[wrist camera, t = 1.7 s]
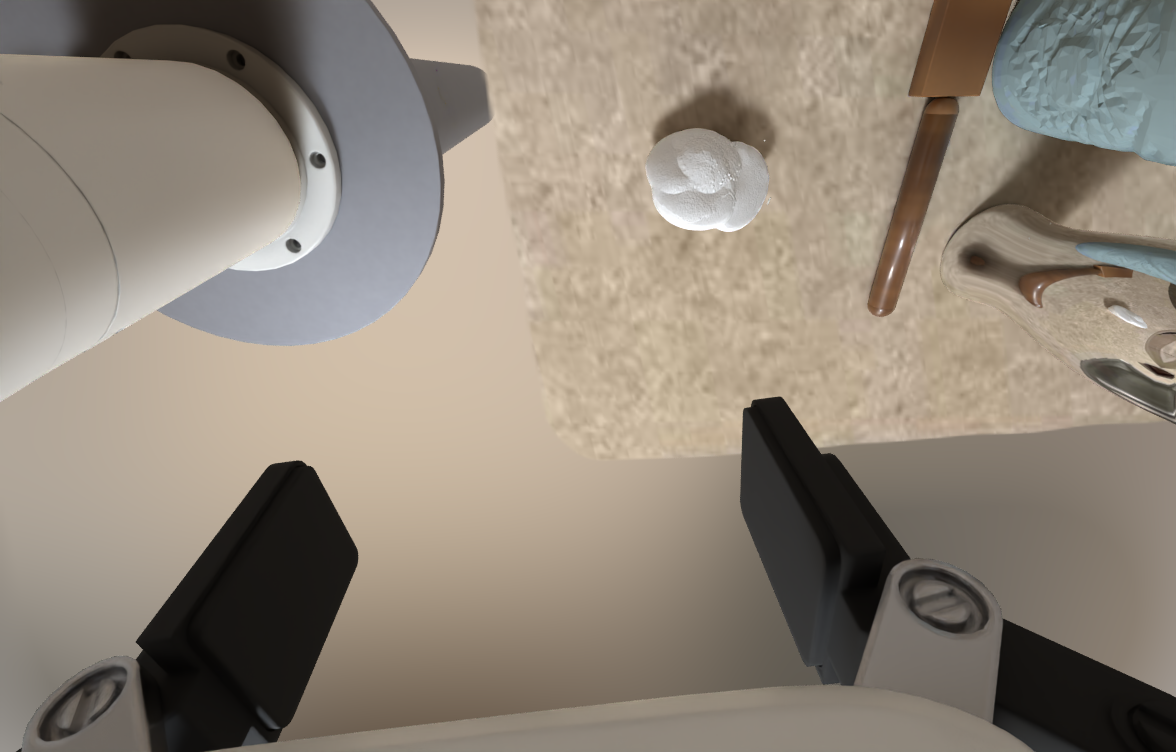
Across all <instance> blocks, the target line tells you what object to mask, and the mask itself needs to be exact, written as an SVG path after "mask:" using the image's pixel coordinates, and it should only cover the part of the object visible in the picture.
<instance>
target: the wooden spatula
mask: <svg viewBox="0 0 1176 752" xmlns="http://www.w3.org/2000/svg"><path fill="white" fill-rule="evenodd" d="M1011 2H1012V0H934V4H933V7H932V11H931V14H930V18H929V22H928V25H927V29H926V33H925V36H924V40H923V44H922V47H921V51H920V54H919V58H918V62H917V65H916V69H915V73H914V76H913V80H912V84H911V87H910V91H909V96H915V97H939V98H937V99H935V100H933V101H932V102H930V103H929V104H928V105H927V107H926V108H925V110H924V113H923V116H922V119H921V123H920V126H919V130H918V133H917V137H916V140H915V143H914V147H913V150H912V154H911V157H910V160H909V164H908V167H907V171H906V174H905V178H904V181H903V184H902V188H901V191H900V195H899V198H898V201H897V205H896V208H895V212H894V215H893V219H892V222H891V225H890V229H889V232H888V236H887V239H886V242H885V246H884V249H883V253H882V256H881V260H880V263H879V266H878V270H877V273H876V277H875V280H874V283H873V287H872V290H871V294H870V297H869V301H868V309H869V311H870V312H871V313H872V314H873V315H875V316H878V317H883V316H887V315H889V314H891V313H892V312H893V311H894V309H895V307H896V304H897V301H898V298H899V295H900V292H901V289H902V286H903V282H904V279H905V276H906V273H907V270H908V267H909V264H910V261H911V258H912V255H913V252H914V248H915V245H916V242H917V239H918V236H919V233H920V230H921V227H922V224H923V221H924V218H925V215H926V211H927V208H928V205H929V202H930V199H931V196H932V193H933V190H934V187H935V184H936V181H937V178H938V174H939V171H940V168H941V165H942V162H943V159H944V156H945V153H946V150H947V147H948V144H949V141H950V137H951V134H952V131H953V128H954V125H955V122H956V119H957V116H958V112H959V105H958V103H957V101H956V100H955V99H953V98H952V97H953V96H980V94H981V91H982V88H983V85H984V82H985V79H986V76H987V73H988V70H989V67H990V64H991V61H992V58H993V55H994V53H995V50H996V47H997V44H998V41H999V38H1000V35H1001V32H1002V29H1003V26H1004V23H1005V20H1006V17H1007V14H1008V11H1009V8H1010V5H1011Z"/></svg>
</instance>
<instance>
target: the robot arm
mask: <svg viewBox="0 0 1176 752" xmlns="http://www.w3.org/2000/svg"><path fill="white" fill-rule="evenodd" d="M242 55H243V57H244V59H245V65H243V64H242V62H241V56H242ZM320 154H322V155H323V156H324V158H325V160H326V163H325V162H322V161H321V159H320ZM340 199H341V172H340V167H339V161H338V156H337V152H336V149H335V146H334V144H333V141H332V138H331V136H330V133H329V130H328V128H327V126H326V125H325V123H324V121H323V119H322V118H321V116H320V114H319V112H318V111H317V109H316V107H315V106H314V104H313V103H312V102H311V100H310V99H309V98H308V97H307V95H306V94H305V93H304V91H303V90H302V89H301V88H300V86H299V85H298V84H297V83H296V82H295V81H294V80H293V79H292V78H291V77H290V76H289V75H288V74H287V73H286V72H285V71H284V70H283V69H282V68H281V67H279V66H278V65H277V64H276V63H275V62H273V61H272V60H270V59H269V58H268V57H266V56H265V55H263V54H262V53H261V52H259V51H258V50H256V49H255V48H253V47H251V46H249V45H247V44H245V43H243V42H241V41H239V40H237V39H235V38H233V37H231V36H229V35H226V34H223V33H219V32H216V31H213V30H209V29H206V28H201V27H193V26H187V25H181V24H177V25H152V26H149V27H145V28H141V29H137V30H133V31H131V32H130V33H128V34H126V35H124V36H123V37H121V38H119V39H118V40H116V41H114V42H113V43H112V44H111V45H110V47H109V48H108V49H107V50H106V51H105V52H104V53H103V54H102V55H101V56H100V58H92V57H66V56H40V55H14V54H0V402H1V401H2V400H4V399H6V398H7V397H9V396H10V395H12V394H14V393H15V392H17V391H19V390H20V389H22V388H24V387H25V386H27V385H28V384H30V383H32V382H33V381H35V380H37V379H38V378H40V377H41V376H43V375H45V374H47V373H48V372H50V371H52V370H53V369H55V368H57V367H58V366H60V365H62V364H63V363H65V362H67V361H68V360H70V359H72V358H74V357H75V356H77V355H78V354H80V353H83V352H85V351H87V350H89V349H91V348H92V347H94V346H96V345H97V344H99V343H101V342H103V341H104V340H106V339H108V338H109V337H111V336H113V335H114V334H116V333H118V332H120V331H121V330H123V329H125V328H126V327H128V326H130V325H131V324H133V323H135V322H137V321H138V320H140V319H142V318H144V317H145V316H147V315H149V314H150V313H152V312H154V311H156V310H157V309H159V308H161V307H162V306H164V305H166V304H168V303H169V302H171V301H173V300H174V299H176V298H178V297H179V296H181V295H183V294H185V293H186V292H188V291H190V290H191V289H193V288H195V287H197V286H198V285H200V284H202V283H203V282H205V281H207V280H209V279H210V278H212V277H214V276H215V275H217V274H219V273H221V272H222V271H224V270H226V269H227V268H230V269H234V270H246V271H262V270H270V269H277V268H280V267H283V266H285V265H288V264H291V263H294V262H295V261H297V260H299V259H300V258H302V257H304V256H305V255H307V254H308V253H309V252H311V251H312V250H313V249H314V248H316V247H317V246H318V245H319V244H320V243H321V242H322V241H323V239H324V238H325V237H326V235H327V234H328V233H329V232H330V230H331V228H332V225H333V223H334V221H335V219H336V216H337V214H338V209H339V204H340ZM296 240H297V241H298V242H299V243H300V245H299V244H297V242H296ZM740 503H741V509H742V513H743V516H744V519H745V521H746V524H747V526H748V529H749V531H750V534H751V536H752V539H753V541H754V543H755V546H756V548H757V551H758V553H759V556H760V558H761V561H762V563H763V565H764V568H765V570H766V573H767V575H768V578H769V580H770V582H771V585H772V587H773V590H774V592H775V594H776V597H777V599H778V602H779V604H780V607H781V609H782V612H783V614H784V616H785V619H786V621H787V623H788V626H789V629H790V631H791V634H792V636H793V638H794V641H795V643H796V646H797V648H798V651H799V653H800V655H801V658H802V660H803V662H804V663H805V665H806V666H807V667H809V666H815V667H816V670H817V672H818V674H819V677H820V679H821V681H822V683H823V685H808V686H807V685H805V686H782V687H769V688H758V689H746V690H735V691H724V692H714V693H703V694H693V695H682V696H673V697H664V698H654V699H646V700H636V701H628V702H618V703H609V704H600V705H591V706H582V707H573V708H564V709H555V710H546V711H538V712H529V713H520V714H511V715H502V716H494V717H486V718H476V719H468V720H459V721H450V722H442V723H434V724H425V725H416V726H408V727H400V728H390V729H382V730H374V731H365V732H357V733H349V734H340V735H333V736H325V737H316V738H308V739H299V740H291V741H283V742H277V740H278V738H279V736H280V733H281V731H282V729H283V728H284V727H286V726H287V725H288V724H289V723H290V722H291V720H292V718H293V716H294V714H295V712H296V709H297V707H298V705H299V702H300V700H301V697H302V695H303V693H304V690H305V688H306V686H307V683H308V681H309V678H310V676H311V674H312V671H313V669H314V667H315V664H316V661H317V660H318V657H319V655H320V652H321V650H322V648H323V645H324V643H325V641H326V638H327V636H328V633H329V631H330V628H331V626H332V624H333V622H334V619H335V617H336V614H337V612H338V610H339V607H340V605H341V602H342V600H343V597H344V595H345V593H346V591H347V588H348V586H349V584H350V581H351V579H352V576H353V574H354V572H355V569H356V567H357V564H358V551H357V548H356V546H355V544H354V542H353V540H352V538H351V537H350V535H349V533H348V531H347V529H346V527H345V525H344V524H343V522H342V520H341V518H340V516H339V515H338V512H337V510H336V509H335V507H334V505H333V503H332V501H331V500H330V497H329V496H328V494H327V492H326V490H325V488H324V486H323V484H322V483H321V481H320V479H319V477H318V475H317V473H316V471H315V470H314V468H312V467H311V466H307V465H306V464H305V463H304V462H302V461H291V462H284V463H275V464H272V465H270V466H269V467H268V468H267V469H266V470H265V471H264V473H263V474H262V475H261V477H260V478H259V479H258V480H257V482H256V483H255V484H254V486H253V487H252V488H251V490H250V491H249V492H248V494H247V495H246V496H245V498H244V499H243V500H242V502H241V503H240V504H239V506H238V507H237V508H236V510H235V511H234V512H233V514H232V515H231V516H230V518H229V519H228V520H227V521H226V523H225V524H224V526H223V527H222V528H221V529H220V531H219V532H218V533H217V535H216V536H215V537H214V539H213V540H212V541H211V543H210V544H209V545H208V547H207V548H206V549H205V551H204V552H203V553H202V555H201V556H200V557H199V559H198V560H197V561H196V563H195V564H194V565H193V566H192V568H191V569H190V570H189V572H188V573H187V574H186V576H185V577H184V578H183V580H182V581H181V582H180V584H179V585H178V586H177V588H176V589H175V591H174V592H173V593H172V594H171V596H170V597H169V598H168V600H167V601H166V602H165V604H164V605H163V606H162V608H161V609H160V610H159V611H158V613H157V614H156V616H155V617H154V618H153V619H152V621H151V622H150V623H149V625H148V626H147V627H146V629H145V630H144V631H143V633H142V634H141V635H140V637H139V638H138V639H137V641H136V643H137V644H138V645H139V646H140V647H141V648H142V649H143V651H142V652H141V653H140V655H139V656H138V657H137V659H133V658H131V657H129V656H114V657H111V658H108V659H105V660H101V661H99V662H97V663H95V664H93V665H91V666H89V667H87V668H85V669H83V670H82V671H80V672H79V673H77V674H76V675H74V676H73V677H71V678H70V679H68V680H67V681H66V682H65V683H63V684H62V685H61V686H60V687H59V688H58V689H56V690H55V691H54V692H53V693H52V694H51V695H50V696H49V697H48V698H47V699H46V700H45V701H44V702H43V703H42V705H41V706H40V707H39V708H38V709H37V710H36V712H35V713H34V715H33V717H32V718H31V720H30V721H29V723H28V725H27V727H26V730H25V734H24V737H23V744H22V748H21V749H19V750H18V751H16V752H1176V697H1174V696H1172V695H1170V694H1168V693H1166V692H1164V691H1161V690H1159V689H1157V688H1155V687H1152V686H1150V685H1148V684H1146V683H1144V682H1141V681H1139V680H1137V679H1135V678H1133V677H1130V676H1128V675H1126V674H1124V673H1122V672H1120V671H1117V670H1115V669H1113V668H1111V667H1109V666H1106V665H1104V664H1102V663H1100V662H1098V661H1095V660H1093V659H1091V658H1089V657H1087V656H1084V655H1082V654H1080V653H1078V652H1076V651H1073V650H1071V649H1069V648H1067V647H1065V646H1062V645H1060V644H1058V643H1056V642H1054V641H1051V640H1049V639H1046V638H1045V637H1042V636H1040V635H1038V634H1036V633H1034V632H1032V631H1029V630H1027V629H1025V628H1023V627H1021V626H1018V625H1016V624H1014V623H1012V622H1009V621H1007V620H1005V619H1003V618H1002V611H1001V608H1000V606H999V604H998V602H997V600H996V599H995V597H994V595H993V594H992V593H991V592H990V591H989V590H988V589H987V588H986V587H985V585H984V584H983V583H982V582H980V581H979V580H978V579H976V578H975V577H973V576H972V575H970V574H969V573H967V572H966V571H964V570H962V569H960V568H957V567H955V566H953V565H951V564H949V563H945V562H942V561H938V560H934V559H923V558H915V559H910V557H909V556H908V555H907V553H906V552H905V550H904V549H903V548H902V546H901V545H900V543H899V542H898V541H897V539H896V538H895V537H894V535H893V534H892V532H891V531H890V530H889V528H888V527H887V525H886V524H885V523H884V521H883V520H882V519H881V517H880V516H879V514H878V513H877V512H876V510H875V509H874V507H873V506H872V505H871V503H870V502H869V501H868V499H867V498H866V496H865V495H864V494H863V492H862V491H861V489H860V488H859V487H858V485H857V484H856V483H855V481H854V480H853V478H852V477H851V476H850V474H849V473H848V471H847V470H846V469H845V467H844V466H843V465H842V463H841V462H840V461H839V459H838V458H837V457H836V456H835V455H833V454H831V453H828V454H821V453H820V452H819V450H818V449H817V447H816V446H815V444H814V443H813V441H812V440H811V439H810V437H809V436H808V434H807V433H806V431H805V430H804V428H803V427H802V425H801V424H800V422H799V421H798V420H797V418H796V417H795V415H794V414H793V412H792V411H791V409H790V408H789V406H788V405H787V403H786V402H785V401H784V399H783V398H782V397H772V398H765V399H757V400H753V401H752V404H751V407H749V408H744V410H743V428H742V460H741V494H740ZM834 683H840V684H841V685H825V684H834Z"/></svg>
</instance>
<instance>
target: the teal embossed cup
mask: <svg viewBox="0 0 1176 752" xmlns="http://www.w3.org/2000/svg"><path fill="white" fill-rule="evenodd" d="M992 86H993V93H994V97H995V99H996V102H997V105H998V107H999V109H1000V111H1001V112H1002V114H1003V115H1004V116H1005V117H1006V118H1007V119H1008V120H1009V121H1010V122H1012V123H1013V124H1015V125H1017V126H1018V127H1021V128H1023V129H1025V130H1028V131H1032V132H1035V133H1039V134H1043V135H1047V136H1051V137H1055V138H1059V139H1063V140H1067V141H1077V142H1080V143H1084V144H1092V145H1095V146H1097V147H1101V148H1106V149H1112V150H1117V151H1123V152H1135V153H1137V154H1138V155H1139V156H1140V157H1142V158H1143V159H1144V160H1148V161H1153V162H1158V163H1162V164H1165V165H1170V166H1176V0H1020V2H1019V3H1018V5H1017V6H1016V8H1015V9H1014V10H1013V12H1012V14H1011V16H1010V18H1009V20H1008V22H1007V24H1006V26H1005V28H1004V30H1003V32H1002V35H1001V37H1000V40H999V42H998V46H997V49H996V53H995V57H994V62H993V69H992Z"/></svg>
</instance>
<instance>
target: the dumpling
mask: <svg viewBox="0 0 1176 752" xmlns="http://www.w3.org/2000/svg"><path fill="white" fill-rule="evenodd" d="M764 141H765V140H764ZM646 174H647V178H648V180H649V184H650V185H651V187H652V197H653V201H654V204H655V207H656V209H657V210H658V212H659V213H660V214H661V215H662V216H663V217H664V218H665V219H666V220H667V221H668V222H670V223H671V224H674V225H675V226H678V227H681V228H684V229H688V230H709V229H712V228H717V229H719V230H721V231H725V232H731V231H735V230H739V229H741V228H742V227H744V226H745V225H747V224H748V223H749V222H751V221H752V219H753V218H754V217H755V216H756V214H757V213H758V211H759V210H760V209H761V206H762V204H763V202H764V200H765V198H766V195H767V192H768V183H769V173H768V169H767V165H766V162H765V160H764V159H763V157H762V155H761V153H759V151H758V150H757V149H755V148H754V147H753V146H749V145H746V144H745V143H743V142H740V141H735V142H731V141H730V140H727V138H726V137H724V136H723V135H720V134H718V133H717V132H715V131H712V130H708V129H701V128H692V129H685V130H684V131H681V132H680V131H678V132H676V133H673V134H671V135H668V136H666V137H665V138H662V139H661V140H660V141H659V142H658V143H657V144H656V145H655V146H654V147H653V149H652V150H651V151H650V153H649V155H648V158H647V161H646ZM770 199H771V197H770V198H769V200H768V203H767V204H769V201H770Z"/></svg>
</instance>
